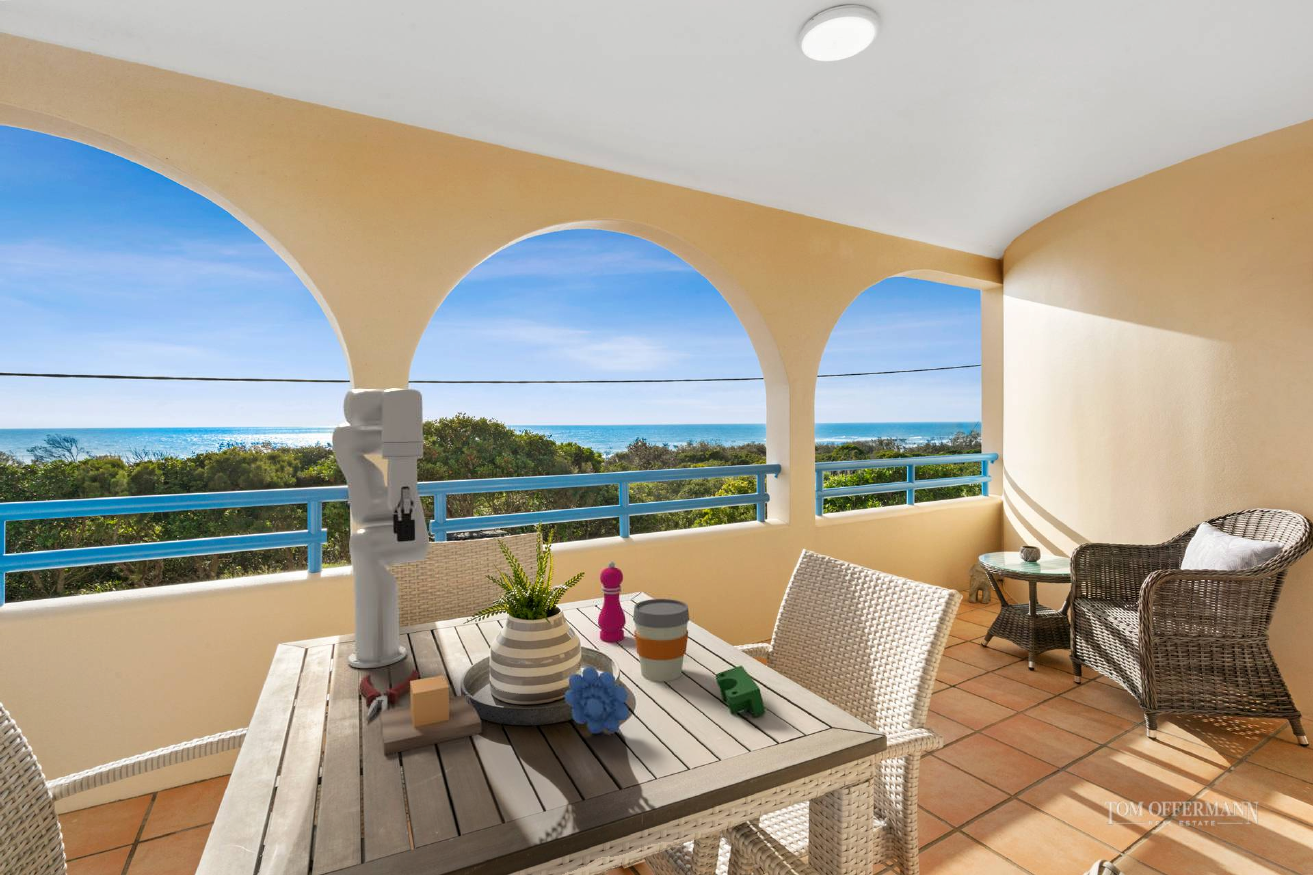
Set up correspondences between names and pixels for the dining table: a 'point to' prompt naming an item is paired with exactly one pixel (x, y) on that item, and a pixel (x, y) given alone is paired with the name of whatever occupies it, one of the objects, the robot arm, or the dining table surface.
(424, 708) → the matte orange cube
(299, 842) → the dining table surface
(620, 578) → the pepper mill
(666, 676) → the reusable coffee cup
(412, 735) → the board
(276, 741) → the dining table surface
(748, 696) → the clamp
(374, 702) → the pliers
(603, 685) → the blue knobbed flower
